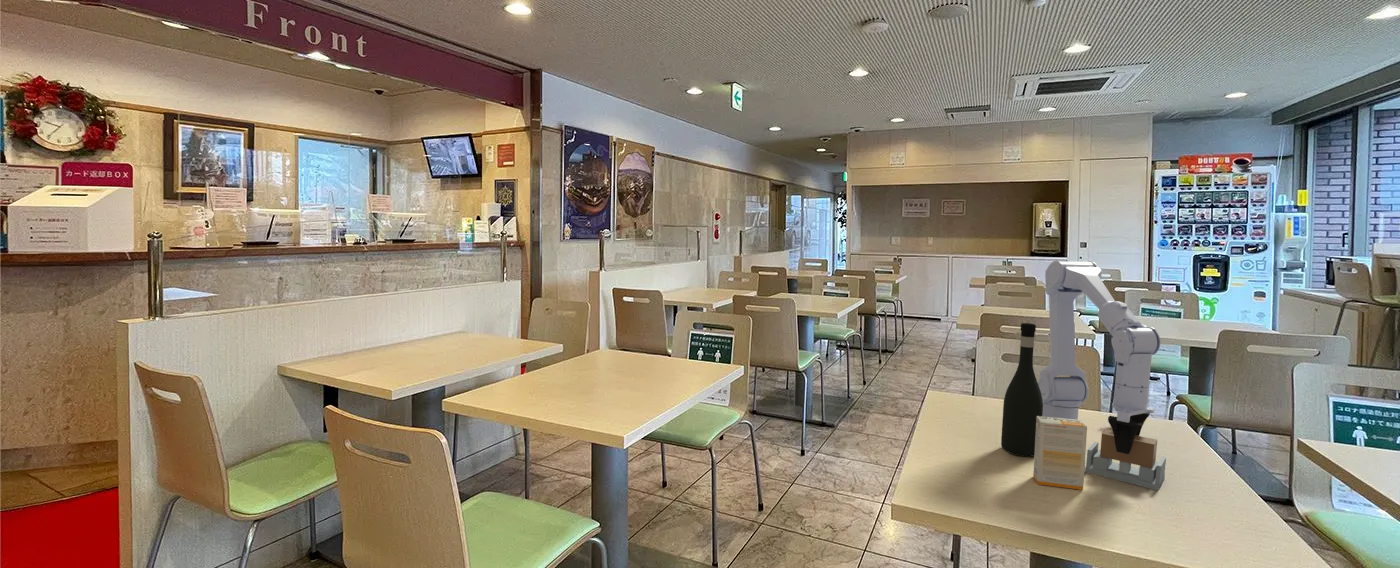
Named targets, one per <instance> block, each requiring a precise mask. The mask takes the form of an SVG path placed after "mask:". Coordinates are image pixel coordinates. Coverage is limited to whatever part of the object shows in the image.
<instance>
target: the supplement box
mask: <svg viewBox="0 0 1400 568" xmlns="http://www.w3.org/2000/svg"><path fill="white" fill-rule="evenodd" d="M1087 435H1088V426H1087V425H1086V423H1084V421H1082V420H1081V419H1078V420H1075V419H1064V418H1054V417H1043V416H1037V419H1036V436H1035V454H1034V456H1033V471H1032V473H1033V478H1034V479H1035V481H1036V484H1037V485H1038V486H1039V485H1040V486H1048V487H1055V488H1057V487H1058V488H1064V489H1072V490H1079V491H1083V490H1084V483H1085V482H1084V481H1085V469H1086V455H1087Z"/></svg>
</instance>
